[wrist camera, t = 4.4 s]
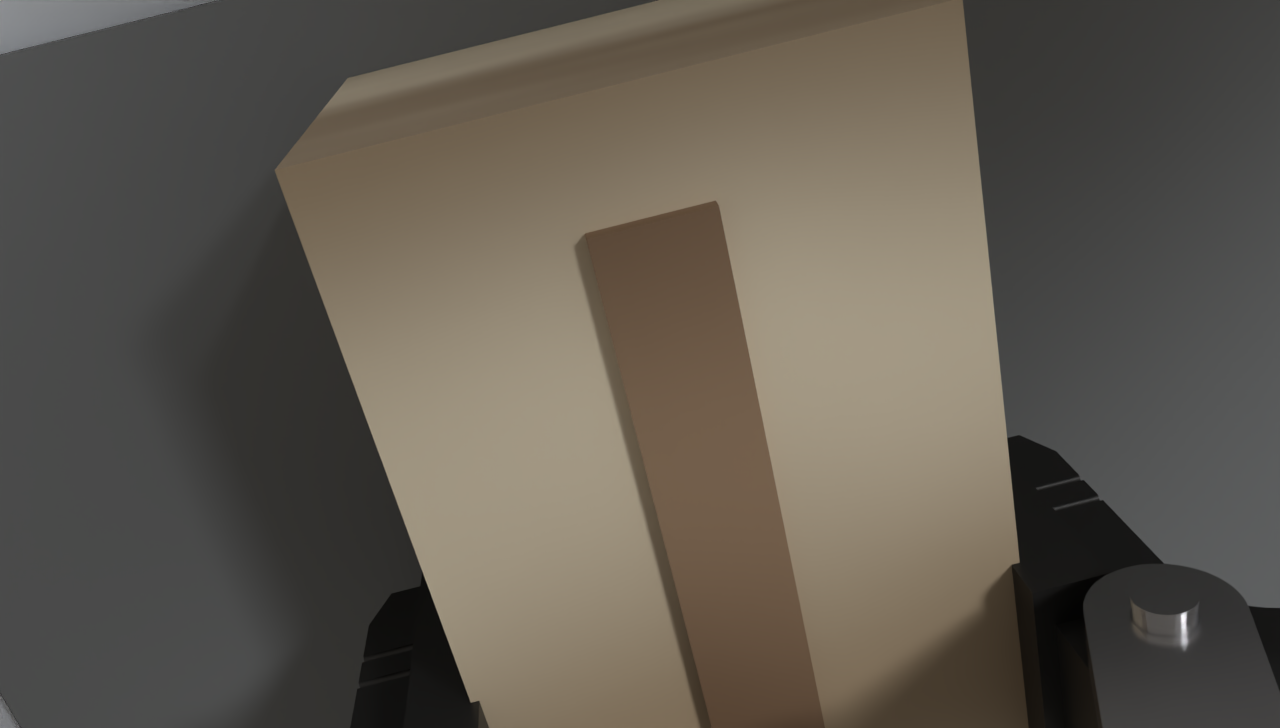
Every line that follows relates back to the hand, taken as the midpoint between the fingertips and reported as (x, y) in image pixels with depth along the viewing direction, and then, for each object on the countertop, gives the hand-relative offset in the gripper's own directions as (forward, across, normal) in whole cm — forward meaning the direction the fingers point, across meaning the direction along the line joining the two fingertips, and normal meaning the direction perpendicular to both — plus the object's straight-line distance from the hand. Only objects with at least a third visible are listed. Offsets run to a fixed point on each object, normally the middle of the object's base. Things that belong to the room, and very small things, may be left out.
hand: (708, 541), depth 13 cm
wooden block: (+1, 0, 0) cm, 1 cm away
